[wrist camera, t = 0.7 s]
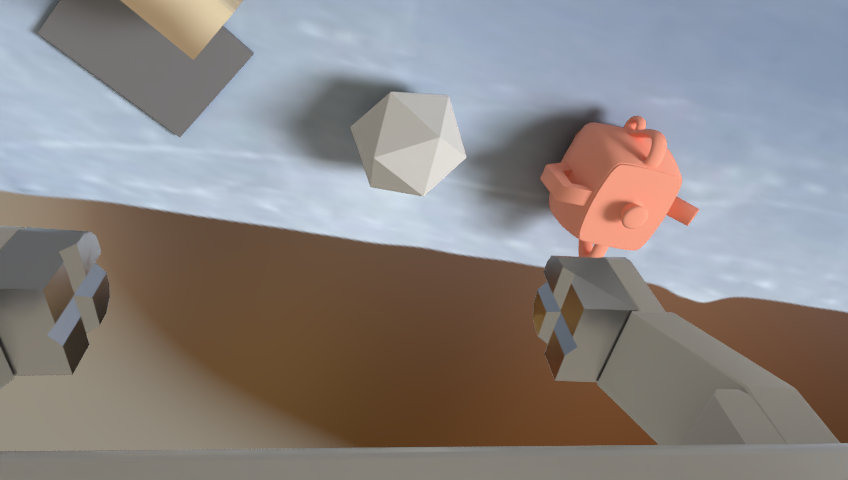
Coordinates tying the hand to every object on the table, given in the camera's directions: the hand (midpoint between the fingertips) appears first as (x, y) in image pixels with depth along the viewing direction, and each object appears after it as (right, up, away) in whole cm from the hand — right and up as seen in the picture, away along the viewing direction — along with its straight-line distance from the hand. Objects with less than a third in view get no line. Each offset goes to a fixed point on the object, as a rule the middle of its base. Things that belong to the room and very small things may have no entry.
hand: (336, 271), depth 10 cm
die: (0, +11, +38) cm, 40 cm away
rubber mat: (-20, +16, +32) cm, 41 cm away
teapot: (+19, +8, +43) cm, 47 cm away
